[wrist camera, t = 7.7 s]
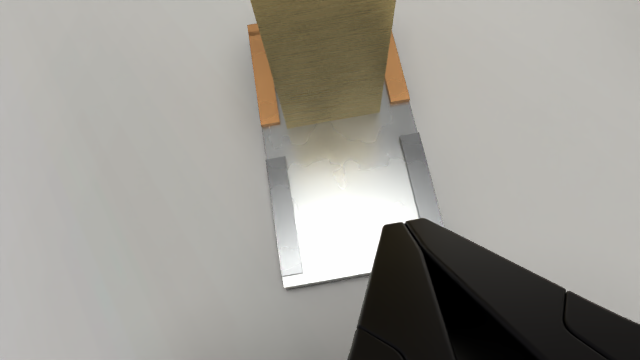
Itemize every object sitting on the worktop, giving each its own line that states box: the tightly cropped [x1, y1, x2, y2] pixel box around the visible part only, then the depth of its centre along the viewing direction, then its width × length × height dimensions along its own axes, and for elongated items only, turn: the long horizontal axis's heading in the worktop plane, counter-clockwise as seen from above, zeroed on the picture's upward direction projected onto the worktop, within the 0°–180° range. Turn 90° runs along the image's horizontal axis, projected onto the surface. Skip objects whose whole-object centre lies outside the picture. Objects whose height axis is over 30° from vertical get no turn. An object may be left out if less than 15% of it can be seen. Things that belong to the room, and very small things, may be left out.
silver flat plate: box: [247, 24, 444, 290], centre depth 24 cm, size 15×8×1 cm, turn 9°
